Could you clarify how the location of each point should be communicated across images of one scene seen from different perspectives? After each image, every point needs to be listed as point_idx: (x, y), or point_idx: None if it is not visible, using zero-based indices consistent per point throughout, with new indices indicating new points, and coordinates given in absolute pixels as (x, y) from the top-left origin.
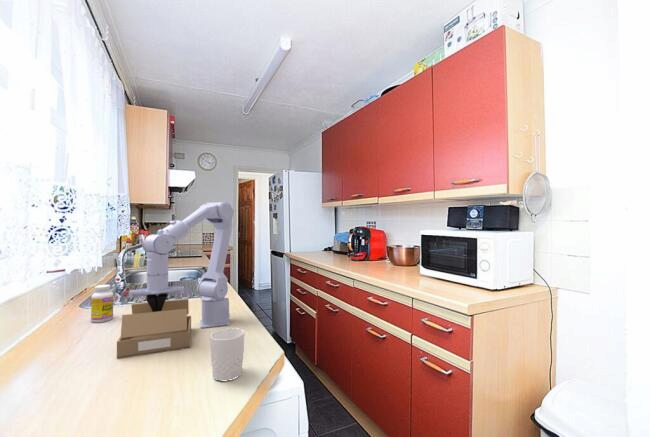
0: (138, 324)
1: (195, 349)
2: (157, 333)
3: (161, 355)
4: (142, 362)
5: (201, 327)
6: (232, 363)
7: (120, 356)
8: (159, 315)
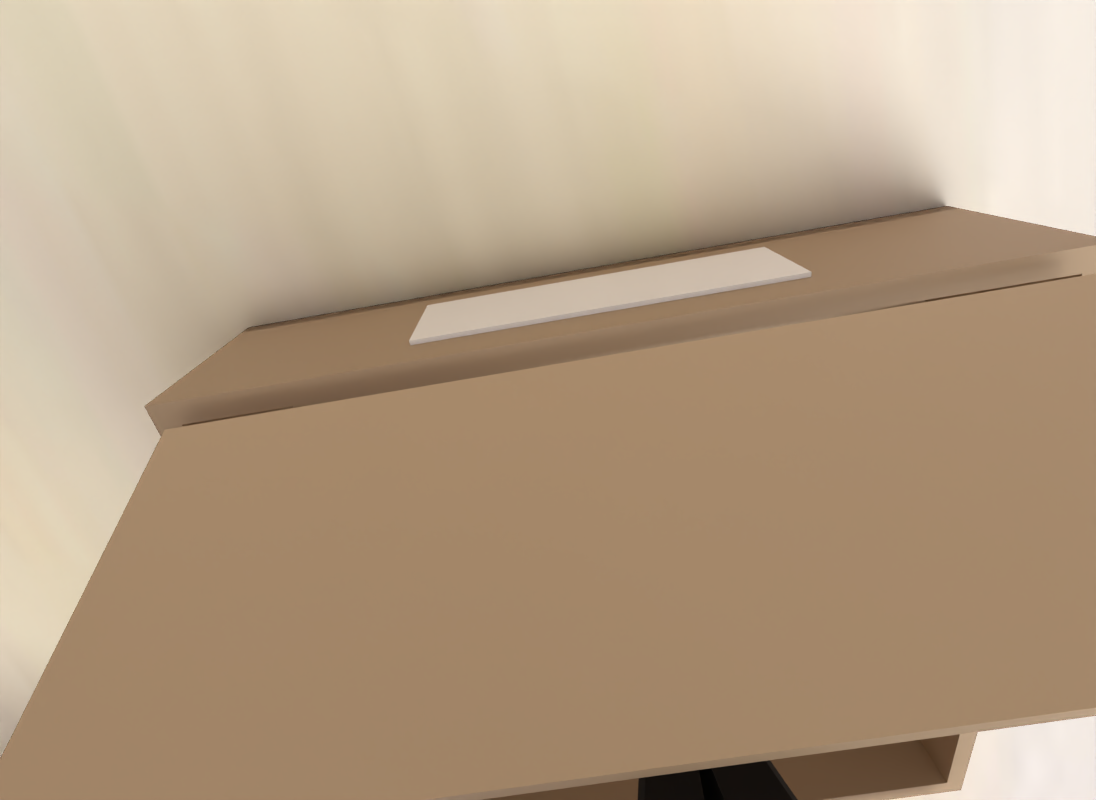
0: (975, 451)
1: (157, 269)
2: None
3: (493, 179)
4: (658, 8)
5: None
6: None
7: (923, 214)
8: (613, 649)
